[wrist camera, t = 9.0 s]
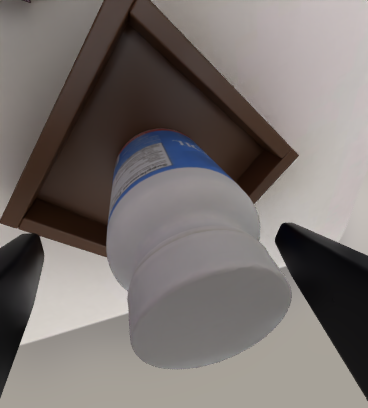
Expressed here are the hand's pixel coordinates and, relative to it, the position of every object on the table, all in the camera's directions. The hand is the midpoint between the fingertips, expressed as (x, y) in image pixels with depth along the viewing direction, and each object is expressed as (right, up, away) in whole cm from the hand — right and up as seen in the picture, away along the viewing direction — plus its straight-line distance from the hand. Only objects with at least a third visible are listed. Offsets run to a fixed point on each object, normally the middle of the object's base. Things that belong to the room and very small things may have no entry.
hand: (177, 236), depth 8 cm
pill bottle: (-1, +3, +5) cm, 6 cm away
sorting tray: (-2, +3, +6) cm, 7 cm away
